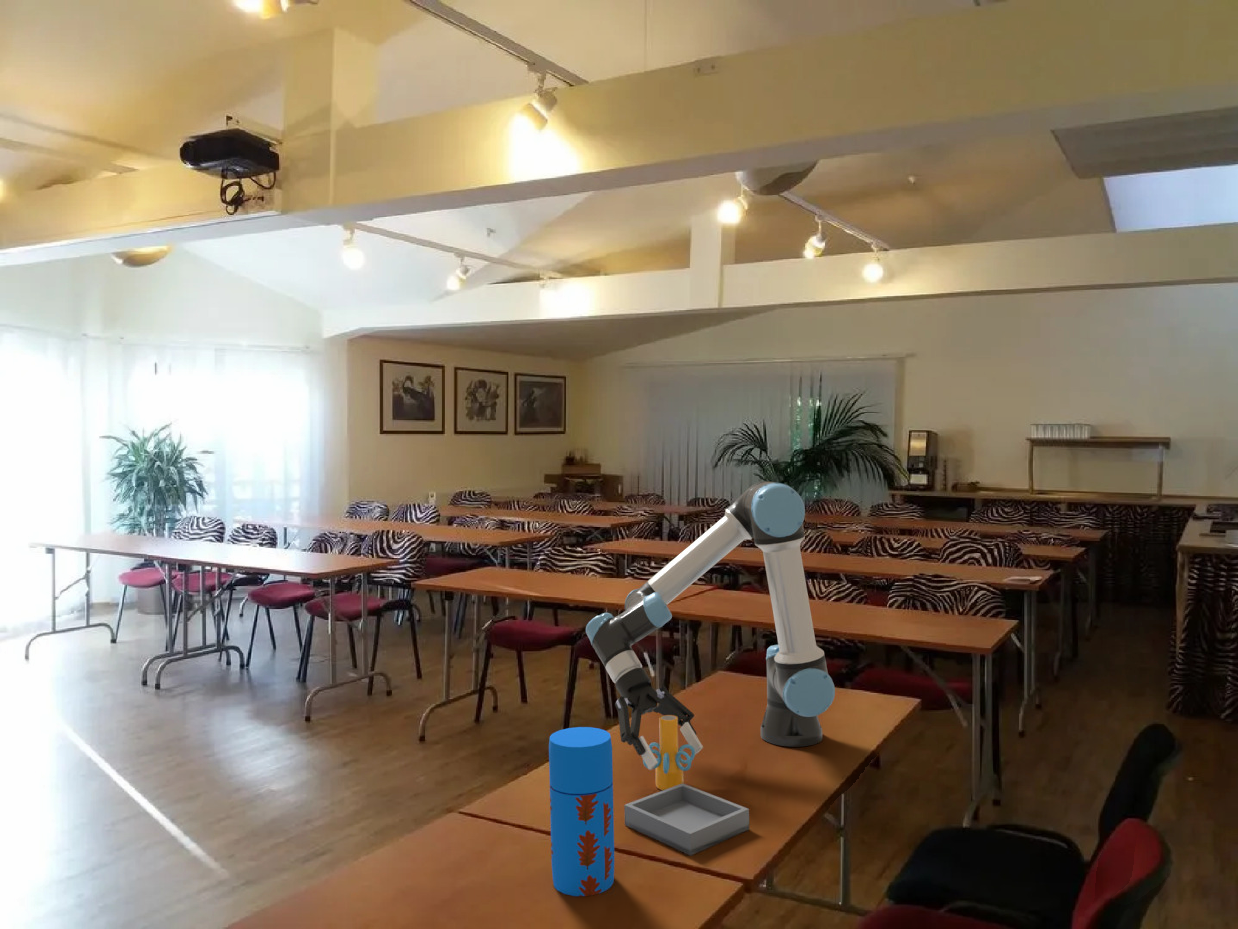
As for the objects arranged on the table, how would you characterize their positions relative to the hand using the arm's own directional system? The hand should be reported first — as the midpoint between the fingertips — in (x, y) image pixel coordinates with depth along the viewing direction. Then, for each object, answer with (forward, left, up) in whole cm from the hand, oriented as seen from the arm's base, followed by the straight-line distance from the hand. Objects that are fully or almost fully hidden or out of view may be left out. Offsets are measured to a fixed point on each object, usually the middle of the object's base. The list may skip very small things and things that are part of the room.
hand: (676, 758), depth 197 cm
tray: (+12, +15, -7) cm, 20 cm away
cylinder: (0, -2, -7) cm, 7 cm away
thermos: (+40, +18, -7) cm, 44 cm away
